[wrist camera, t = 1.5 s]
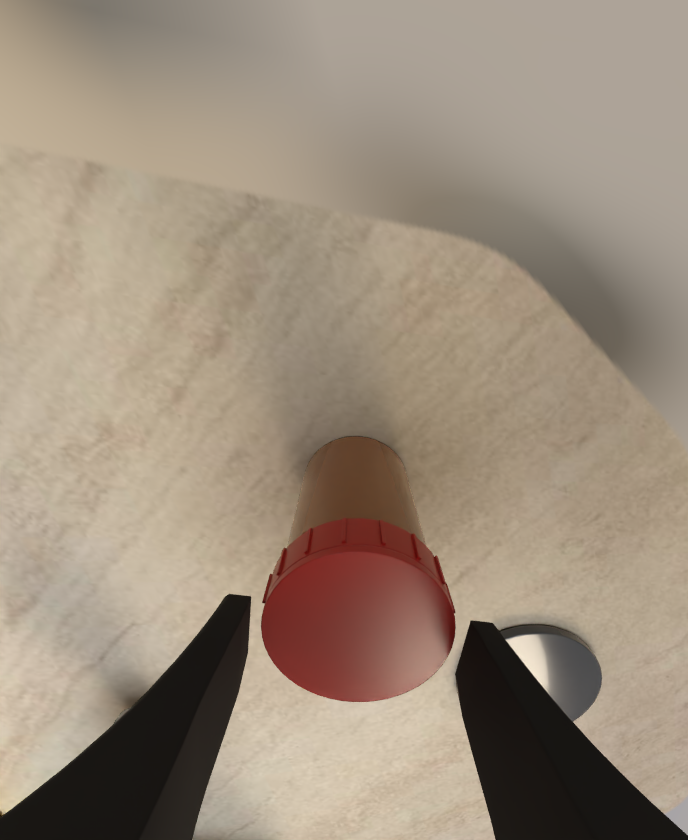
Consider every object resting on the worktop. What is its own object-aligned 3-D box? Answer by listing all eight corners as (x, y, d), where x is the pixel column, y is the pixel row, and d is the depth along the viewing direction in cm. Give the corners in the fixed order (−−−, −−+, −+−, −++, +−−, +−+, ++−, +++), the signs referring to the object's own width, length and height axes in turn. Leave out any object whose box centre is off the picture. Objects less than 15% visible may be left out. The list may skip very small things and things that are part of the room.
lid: (365, 481, 12) (367, 512, 10) (480, 598, 13) (496, 640, 12) (234, 585, 13) (218, 625, 12) (350, 681, 14) (350, 729, 13)
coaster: (546, 600, 22) (551, 608, 21) (622, 683, 24) (629, 693, 23) (428, 672, 24) (430, 682, 23) (507, 744, 26) (511, 754, 25)
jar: (360, 414, 19) (365, 516, 11) (428, 487, 20) (479, 628, 12) (282, 479, 20) (235, 615, 12) (351, 545, 21) (350, 708, 13)
